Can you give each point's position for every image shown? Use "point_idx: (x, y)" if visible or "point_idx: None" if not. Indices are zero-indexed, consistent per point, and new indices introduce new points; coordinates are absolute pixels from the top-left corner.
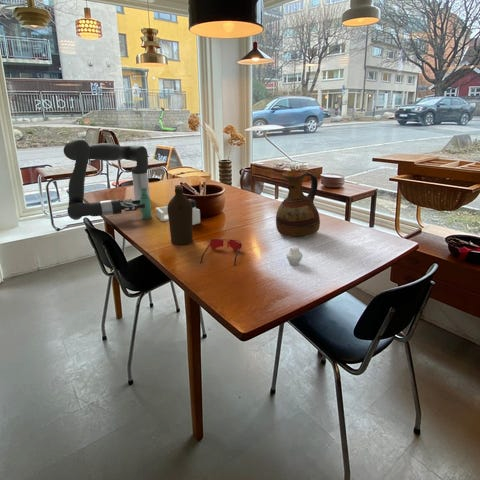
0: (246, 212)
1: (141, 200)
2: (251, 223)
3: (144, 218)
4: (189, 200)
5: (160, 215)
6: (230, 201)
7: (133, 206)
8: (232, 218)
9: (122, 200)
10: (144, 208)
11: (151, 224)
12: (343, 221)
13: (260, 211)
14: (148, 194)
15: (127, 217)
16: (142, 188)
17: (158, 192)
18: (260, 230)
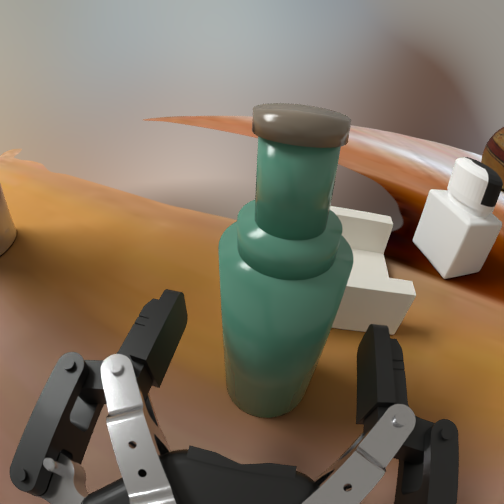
0: (373, 156)
1: (318, 310)
2: None
3: (294, 406)
4: (486, 167)
5: (388, 310)
6: (257, 136)
7: (454, 462)
8: (416, 184)
9: (21, 456)
10: (318, 355)
11: (432, 400)
12: (449, 146)
13: (375, 147)
14: (7, 209)
15: None
16: (325, 120)
17: (5, 192)
18: (497, 200)
